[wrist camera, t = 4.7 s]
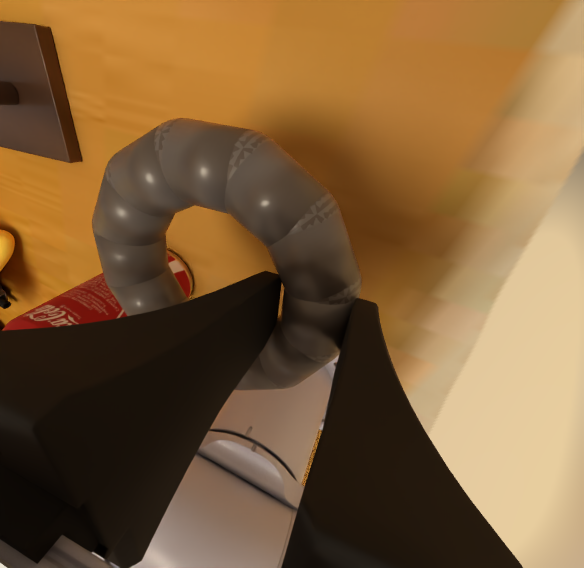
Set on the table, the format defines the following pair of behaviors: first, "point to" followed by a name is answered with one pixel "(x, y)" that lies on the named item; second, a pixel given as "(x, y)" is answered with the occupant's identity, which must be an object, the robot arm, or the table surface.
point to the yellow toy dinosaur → (5, 247)
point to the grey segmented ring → (249, 213)
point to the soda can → (89, 302)
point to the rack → (34, 95)
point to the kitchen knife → (4, 299)
